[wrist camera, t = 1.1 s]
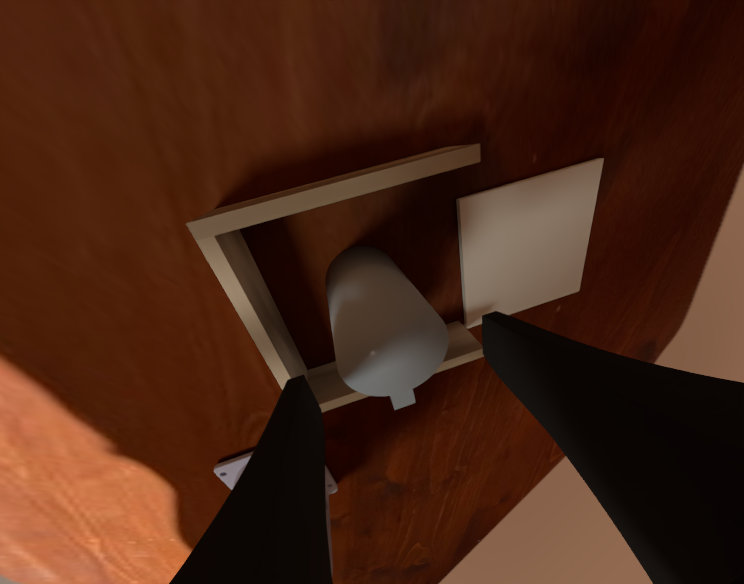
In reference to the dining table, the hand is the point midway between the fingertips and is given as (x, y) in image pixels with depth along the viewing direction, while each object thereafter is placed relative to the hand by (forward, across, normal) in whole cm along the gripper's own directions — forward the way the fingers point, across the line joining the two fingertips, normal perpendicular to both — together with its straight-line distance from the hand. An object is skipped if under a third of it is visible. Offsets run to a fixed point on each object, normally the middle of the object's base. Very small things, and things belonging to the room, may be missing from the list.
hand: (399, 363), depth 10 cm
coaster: (+8, -12, +2) cm, 15 cm away
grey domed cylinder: (+8, 0, +1) cm, 8 cm away
